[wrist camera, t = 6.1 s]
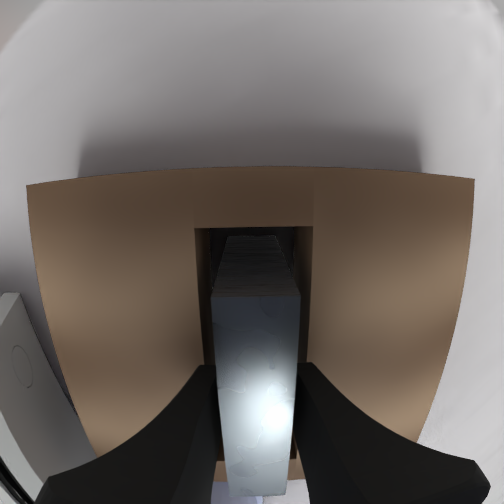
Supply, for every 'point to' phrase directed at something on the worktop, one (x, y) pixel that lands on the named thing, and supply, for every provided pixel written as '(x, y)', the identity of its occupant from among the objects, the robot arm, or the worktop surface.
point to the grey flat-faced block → (255, 362)
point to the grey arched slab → (32, 412)
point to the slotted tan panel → (200, 283)
